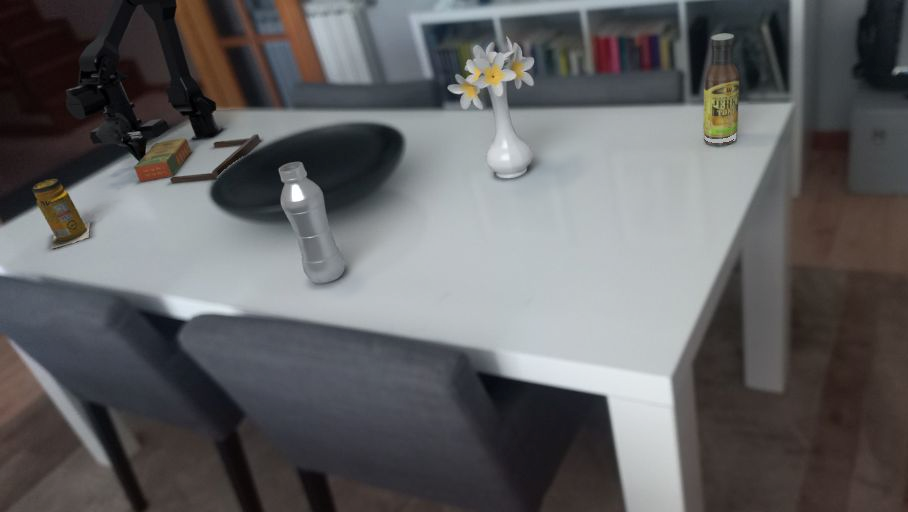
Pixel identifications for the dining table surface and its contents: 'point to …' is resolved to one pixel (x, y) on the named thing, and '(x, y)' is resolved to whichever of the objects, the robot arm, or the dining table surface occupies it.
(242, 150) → the frame
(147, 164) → the carton
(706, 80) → the sauce bottle
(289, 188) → the plastic bottle
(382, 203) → the dining table surface
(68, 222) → the condiment
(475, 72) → the flower vase
